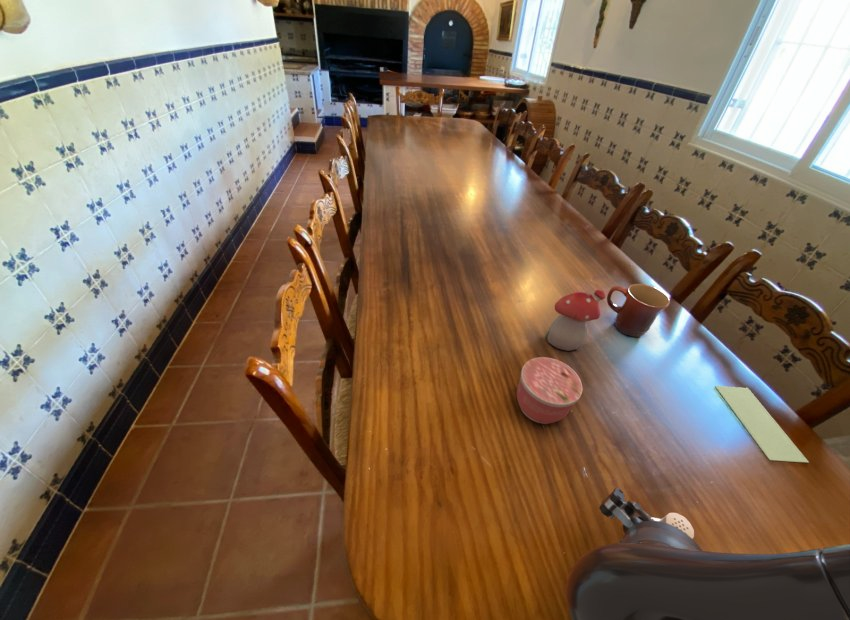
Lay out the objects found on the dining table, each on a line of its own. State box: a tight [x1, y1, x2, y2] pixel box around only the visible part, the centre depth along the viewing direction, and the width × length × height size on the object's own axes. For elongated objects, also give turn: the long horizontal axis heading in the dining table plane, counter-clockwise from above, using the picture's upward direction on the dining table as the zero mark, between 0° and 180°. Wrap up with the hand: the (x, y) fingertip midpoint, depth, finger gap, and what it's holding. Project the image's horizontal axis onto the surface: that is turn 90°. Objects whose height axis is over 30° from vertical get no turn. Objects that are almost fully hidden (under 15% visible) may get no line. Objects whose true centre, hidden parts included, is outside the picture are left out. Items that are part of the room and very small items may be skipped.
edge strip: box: [714, 385, 810, 464], centre depth 68 cm, size 16×7×1 cm, turn 179°
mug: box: [606, 283, 671, 338], centre depth 84 cm, size 12×9×10 cm
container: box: [516, 356, 583, 425], centre depth 65 cm, size 10×10×8 cm
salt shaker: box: [651, 512, 695, 540], centre depth 47 cm, size 4×4×10 cm
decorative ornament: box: [545, 289, 607, 352], centre depth 76 cm, size 9×7×15 cm
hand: (664, 540), depth 44 cm, fingers open, 8 cm apart
